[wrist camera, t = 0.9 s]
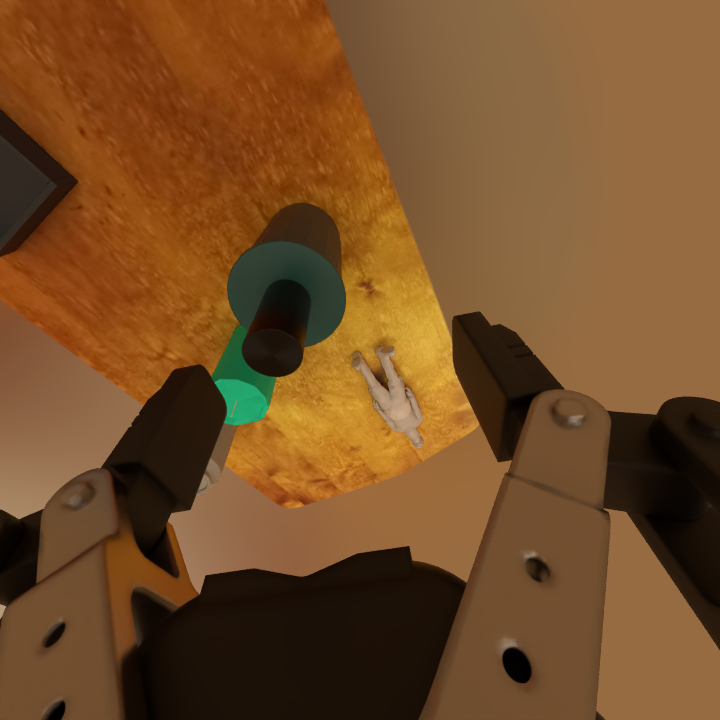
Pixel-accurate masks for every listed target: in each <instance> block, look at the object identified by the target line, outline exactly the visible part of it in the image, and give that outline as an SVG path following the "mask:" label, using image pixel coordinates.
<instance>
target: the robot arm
mask: <svg viewBox="0 0 720 720" xmlns="http://www.w3.org/2000/svg"><path fill="white" fill-rule="evenodd" d="M452 343H453V364H454V369H455V372H456V375H457V377H458V379H459V381H460V384H461V386H462V388H463V390H464V392H465V394H466V396H467V398H468V400H469V402H470V405H471V407H472V409H473V411H474V413H475V415H476V417H477V419H478V421H479V423H480V426H481V428H482V429H483V432H484V434H485V436H486V438H487V440H488V442H489V444H490V446H491V449H492V451H493V453H494V455H495V457H496V459H497V461H498V462H503V461H509V460H512V463H511V465H510V468H509V471H508V473H505V475H504V477H503V480H502V482H501V485H500V488H499V491H498V494H497V497H496V500H495V502H494V506H493V508H492V511H491V514H490V517H489V520H488V523H487V526H486V529H485V532H484V535H483V538H482V541H481V544H480V547H479V549H478V552H477V556H476V558H475V561H474V564H473V567H472V570H471V573H470V576H469V579H468V582H467V583H466V582H465V581H463V580H462V579H460V578H458V577H457V576H455V575H454V574H452V573H450V572H448V571H445V570H444V569H442V568H439V567H437V566H434V565H430V564H427V563H424V562H418V561H413V560H412V557H411V552H410V548H409V546H407V547H399V548H392V549H386V550H378V551H371V552H365V553H358V554H355V555H353V556H351V557H348V558H346V559H344V560H342V561H340V562H337V563H335V564H333V565H331V566H328V567H326V568H324V569H322V570H319V571H318V572H315V573H313V574H311V575H308V576H304V577H298V576H293V575H287V574H282V573H276V572H271V571H266V570H260V569H246V570H239V571H233V572H226V573H219V574H212V575H206V576H205V579H204V583H203V586H202V590H201V593H200V595H199V594H198V592H197V591H196V590H195V588H194V587H193V585H192V583H191V581H190V578H189V575H188V572H187V569H186V566H185V563H184V560H183V556H182V553H181V550H180V547H179V544H178V541H177V538H176V534H175V531H174V528H173V526H172V525H171V524H170V523H169V522H168V519H169V517H170V515H171V513H175V512H181V511H187V510H190V509H191V507H192V504H193V502H194V499H195V497H196V494H197V491H198V489H199V486H200V484H201V481H202V478H203V476H204V473H205V471H206V468H207V465H208V463H209V460H210V458H211V455H212V453H213V450H214V447H215V445H216V442H217V440H218V437H219V434H220V432H221V429H222V427H223V424H224V421H225V419H226V416H227V405H226V401H225V399H224V397H223V395H222V394H221V392H220V390H219V389H218V387H217V386H216V384H215V383H214V381H213V379H212V378H211V376H210V375H209V373H208V371H207V370H206V369H205V367H203V366H202V365H194V366H189V367H184V368H178V369H175V370H173V372H172V373H171V374H170V376H169V377H168V379H167V380H166V382H165V383H164V385H163V386H162V388H161V389H160V390H159V391H157V392H156V393H155V394H154V395H153V396H152V397H151V398H150V399H148V401H147V402H146V404H145V405H144V407H143V408H142V409H141V411H140V412H139V415H138V416H137V417H136V418H135V419H134V421H133V422H132V427H129V428H128V430H127V431H126V432H125V434H124V435H123V437H122V438H121V440H120V441H119V443H118V444H117V445H116V447H115V448H114V450H113V451H112V453H111V454H110V456H109V457H108V458H107V460H106V461H105V463H104V464H103V466H102V467H101V468H97V469H92V470H89V471H86V472H84V473H82V474H80V475H78V476H77V477H75V478H74V479H72V480H70V481H69V482H68V483H66V484H65V485H64V486H62V487H61V488H60V489H59V490H58V491H57V492H56V493H55V494H54V495H53V496H52V498H51V499H50V500H49V501H48V503H47V504H46V506H45V507H44V509H42V510H40V511H38V512H35V513H33V514H30V515H28V516H26V517H23V518H21V519H17V518H16V517H14V516H12V515H10V514H9V513H7V512H5V511H3V510H0V604H1V605H5V606H7V607H6V608H5V611H4V613H3V616H2V618H1V619H0V720H605V719H604V718H603V717H602V716H601V715H600V714H599V713H598V712H597V711H596V706H597V693H598V680H599V667H600V654H601V641H602V629H603V617H604V604H605V591H606V578H607V565H608V553H609V540H610V515H609V513H608V512H607V511H605V510H604V509H603V508H606V509H612V510H618V511H625V512H627V514H628V515H629V517H630V518H631V519H632V521H633V523H634V524H635V526H636V527H637V528H638V530H639V531H640V533H641V534H642V536H643V537H644V539H645V540H646V542H647V543H648V545H649V546H650V548H651V549H652V551H653V552H654V554H655V555H656V557H657V558H658V560H659V561H660V562H661V564H662V565H663V567H664V568H665V570H666V571H667V573H668V574H669V575H670V577H671V579H672V580H673V581H674V583H675V585H676V586H677V588H678V589H679V590H680V592H681V593H682V595H683V596H684V598H685V599H686V601H687V602H688V604H689V605H690V607H691V608H692V610H693V611H694V613H695V614H696V616H697V617H698V618H699V620H700V621H701V623H702V624H703V626H704V627H705V629H706V630H707V632H708V633H709V635H710V636H711V638H712V639H713V641H714V642H715V643H716V645H717V647H718V648H719V649H720V402H718V401H714V400H710V399H706V398H699V397H677V398H672V399H670V400H668V401H666V402H664V404H663V405H662V406H661V407H660V409H659V411H658V413H657V414H656V415H652V414H639V413H625V412H613V411H607V410H606V409H605V408H604V407H603V406H602V405H601V404H599V403H598V402H597V401H596V400H594V399H593V398H591V397H589V396H587V395H584V394H582V393H578V392H575V391H570V390H565V389H564V388H563V387H562V386H561V384H560V383H559V382H558V381H557V380H556V379H555V378H554V376H553V375H552V374H551V373H550V372H549V371H548V369H547V368H546V367H545V366H544V365H543V364H542V363H541V361H540V360H539V359H538V358H537V357H536V355H533V352H532V351H531V350H530V349H529V347H528V346H527V345H525V343H524V342H523V341H522V339H521V338H520V337H519V336H518V335H517V333H516V332H514V331H512V330H510V329H508V328H507V327H504V326H503V325H501V324H498V325H493V326H491V325H490V324H489V323H488V321H487V320H486V319H485V317H484V316H483V315H482V314H481V312H473V313H468V314H463V315H457V316H454V317H453V320H452Z"/></svg>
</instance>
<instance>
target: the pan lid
mask: <svg viewBox="0 0 720 720" xmlns="http://www.w3.org/2000/svg"><path fill="white" fill-rule="evenodd" d="M227 292H228V299H229V303H230V306H231V309H232V311H233V313H234V315H235V317H236V318H237V320H238V321H239V322H240V324H241V325H242V326H243V327H244V328H245V329H246V330H247V331H248V332H247V335H246V337H245V339H244V341H243V344H242V355H243V358H244V360H245V362H246V363H247V364H248V366H249V367H250V368H252V369H253V370H254V371H256V372H258V373H260V374H262V375H265V376H270V377H282V376H286V375H289V374H291V373H293V372H294V371H295V370H297V369H298V367H299V366H300V364H301V362H302V359H303V353H304V347H308V346H312V345H314V344H317V343H319V342H321V341H323V340H324V339H326V338H327V337H329V336H330V335H331V334H332V333H333V332H334V331H335V330H336V328H337V327H338V325H339V324H340V322H341V320H342V318H343V315H344V312H345V306H346V293H345V287H344V283H343V280H342V278H341V276H340V274H339V272H338V270H337V269H336V267H335V266H334V265H333V263H332V262H331V261H330V260H329V259H328V258H327V257H326V256H325V255H324V254H322V253H321V252H320V251H318V250H317V249H315V248H313V247H311V246H309V245H307V244H304V243H302V242H298V241H294V240H287V239H275V240H268V241H265V242H261V243H259V244H257V245H254V246H252V247H251V248H249V249H248V250H246V251H245V252H244V253H243V254H242V255H241V256H240V257H239V259H238V260H237V261H236V263H235V264H234V266H233V268H232V269H231V272H230V275H229V279H228V285H227Z"/></svg>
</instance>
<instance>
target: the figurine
mask: <svg viewBox="0 0 720 720" xmlns="http://www.w3.org/2000/svg"><path fill="white" fill-rule="evenodd" d="M375 352H376V354H377V355H378V356H379V358H380V360H381V364H382V368H384V369H385V373H386V376H387V378H388V382H387V384H388V387H389V392H390V393H389V392H388V390H387V389H385V388H384V387H383V386H381V384H380V383H379V382H378V381H377V380H376V379H375V377H374V375H373V374H372V372H371V369H370V368H369V367H368V365H366V363H365V361H364V360H363V358H362V356H361V354H360V353H359V352H355V353H354V354H353V361H352V363H351V365H352V367H353V368H355V369H356V370H360V371H361V374H362V376H364V377H365V379H366V381H367V383H368V385H369V387H370V388H368V390H369V392H370V393H371V395H372V396H373V398H374V400H373V406H374V407H375V411H376V412H379V414H380V415H381V417H382V418H383V419H384V420H385V422H386V423H387V424H388V425H389V426H390V428H391V429H392V430H394V431H395V432H405V433H406V435H407V437H409V439H410V440H411V442H412V444H413V445H415V446H416V448H421V447H422V445H423V441H424V440H423V439H422V437H421V436H420V435H419V432H418V431H417V430H416V429H415V428H416V427H417V426H418V425H420V424H421V423H422V421H423V417H422V413H421V410H420V407H419V406H418V404H417V402H416V399H415V397H414V396H415V395H414V393H413V392H412V391H410V390H412V389H409V388H408V387H406V386H405V385H404V382H403V380H402V378H401V376H400V375H398V376H397V374H396V371H395V369H394V368H393V366H394V365H393V363H392V362H391V360H390V357H393V356H394V355H395V349H394V347H392V346H388V347H385V348H384V347H383V346H378V347H376V348H375ZM399 378H400V379H399ZM400 380H401V381H400ZM401 382H402V383H401ZM405 390H407V392H406V394H407V397H408V398H407V397H406V395H405ZM409 399H410V401H409ZM376 401H377V402H378V403H379V405H378V403H377V402H376ZM410 403H411V405H410Z"/></svg>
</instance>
